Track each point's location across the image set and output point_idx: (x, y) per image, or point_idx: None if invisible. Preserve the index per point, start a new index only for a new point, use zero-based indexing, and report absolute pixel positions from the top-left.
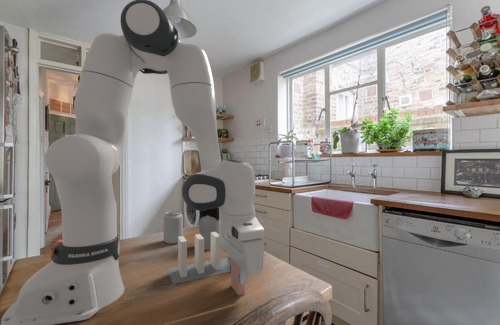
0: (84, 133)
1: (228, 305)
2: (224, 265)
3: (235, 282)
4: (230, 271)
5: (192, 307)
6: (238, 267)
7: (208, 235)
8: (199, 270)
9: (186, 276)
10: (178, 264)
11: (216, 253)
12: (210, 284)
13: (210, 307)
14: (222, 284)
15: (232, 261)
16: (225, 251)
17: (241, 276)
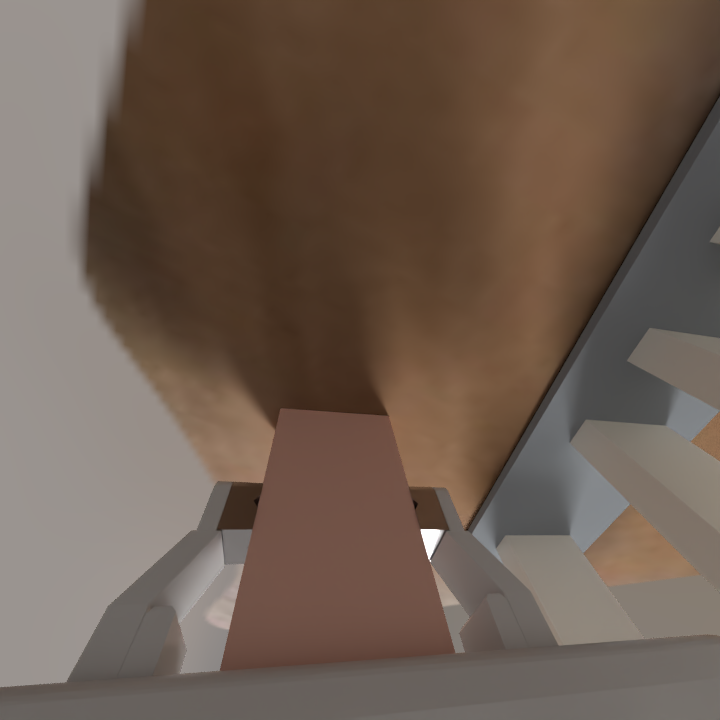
0: None
1: (227, 332)
2: (581, 470)
3: (324, 457)
4: (415, 491)
5: (325, 86)
6: (237, 612)
7: None
8: (670, 341)
9: (712, 238)
10: None
11: (693, 521)
12: (495, 340)
13: (257, 223)
14: (443, 393)
15: (402, 603)
16: (563, 698)
17: (173, 548)
